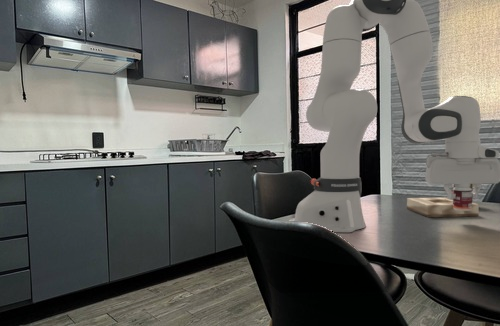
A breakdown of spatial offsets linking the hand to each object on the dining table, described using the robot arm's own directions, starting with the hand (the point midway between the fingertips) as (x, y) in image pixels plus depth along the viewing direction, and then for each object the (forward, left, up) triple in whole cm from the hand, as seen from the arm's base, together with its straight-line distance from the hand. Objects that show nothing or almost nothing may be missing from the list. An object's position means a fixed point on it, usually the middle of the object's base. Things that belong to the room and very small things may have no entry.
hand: (462, 199), depth 102 cm
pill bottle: (0, 0, -3) cm, 3 cm away
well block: (+2, +17, -7) cm, 19 cm away
